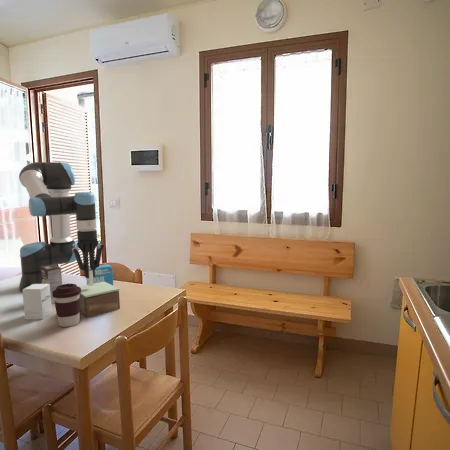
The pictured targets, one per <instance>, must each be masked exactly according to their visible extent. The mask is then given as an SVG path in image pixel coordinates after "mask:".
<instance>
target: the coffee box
mask: <svg viewBox="0 0 450 450" xmlns="http://www.w3.org/2000/svg"><path fill="white" fill-rule="evenodd" d="M40 271H41V282H42V284H50V295H51V305H52V304H54V305H55V298H54V297H53V296H52V292H53V291H54V290H56V288H57V287H58V286H60V285H63V277H62V267H60V266H59V265H55V264H52V265H47V266H42V267H40Z"/></svg>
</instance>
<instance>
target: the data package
mask: <svg viewBox="0 0 450 450" xmlns="http://www.w3.org/2000/svg"><path fill="white" fill-rule="evenodd" d="M89 269H90V266H89ZM113 273H114V272H113V267H112V266H111V265H110V264H103V265H99V267H97V268H96V269H95V277H93V284H94V283H99V282H107V283H109V284H111V285H113V286H114V274H113ZM85 279H86V281H87V278H85Z"/></svg>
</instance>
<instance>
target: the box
mask: <svg viewBox="0 0 450 450" xmlns="http://www.w3.org/2000/svg"><path fill="white" fill-rule="evenodd" d="M120 309H121V301H120V290H119V291H114V292H110V293H105V294H101V295H96V296H91V297H87V298H85V297H83V296H81V295H80V315H82V316H84V317H85V318H87V319H90V318H93V317H96V316H99V315H102V314H103V315H104V314H107V313H109V312H110V313H111V312H113V311H114V312H115V311H117V310H120Z"/></svg>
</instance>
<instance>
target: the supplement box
mask: <svg viewBox="0 0 450 450" xmlns="http://www.w3.org/2000/svg"><path fill="white" fill-rule="evenodd" d="M22 291H23V292H22ZM22 291H21V292H22V300H23V301H22V302H23V311H24V313H23V314H24V320H43V319H45V318H46V317H47V316H48V315H50V314H51V313H52V311H53V309H52V308H53V307H52V304H51V295H50V284H32V285H30V286H28V287H27V288H25V289H23V290H22Z"/></svg>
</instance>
